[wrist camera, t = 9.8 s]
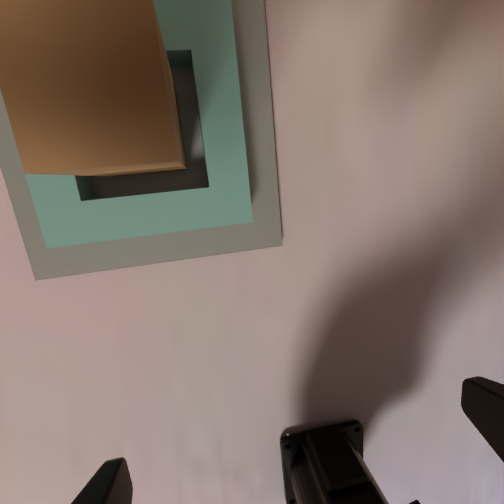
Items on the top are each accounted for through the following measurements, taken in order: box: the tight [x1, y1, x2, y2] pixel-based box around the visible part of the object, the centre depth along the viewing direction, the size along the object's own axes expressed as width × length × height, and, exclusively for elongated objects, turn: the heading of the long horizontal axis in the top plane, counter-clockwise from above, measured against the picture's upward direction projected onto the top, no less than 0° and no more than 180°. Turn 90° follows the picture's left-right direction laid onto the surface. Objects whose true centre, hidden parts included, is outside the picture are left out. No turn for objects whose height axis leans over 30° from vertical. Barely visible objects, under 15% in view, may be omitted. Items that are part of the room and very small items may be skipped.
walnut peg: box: [0, 0, 187, 176], centre depth 11 cm, size 4×4×8 cm
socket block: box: [0, 0, 282, 280], centre depth 15 cm, size 14×14×2 cm
